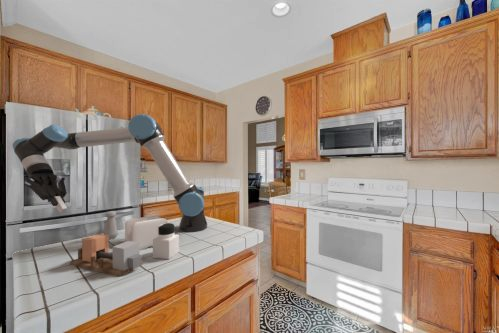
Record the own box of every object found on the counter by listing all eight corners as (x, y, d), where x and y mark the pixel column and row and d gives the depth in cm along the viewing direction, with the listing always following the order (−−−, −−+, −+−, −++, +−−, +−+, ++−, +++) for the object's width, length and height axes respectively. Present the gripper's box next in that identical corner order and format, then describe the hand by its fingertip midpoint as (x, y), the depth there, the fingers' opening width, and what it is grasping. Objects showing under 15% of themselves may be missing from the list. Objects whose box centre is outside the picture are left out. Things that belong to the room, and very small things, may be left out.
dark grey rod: (81, 254, 78) (81, 249, 78) (86, 252, 80) (86, 247, 80) (118, 262, 72) (118, 256, 72) (123, 259, 74) (123, 254, 74)
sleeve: (82, 260, 75) (82, 238, 75) (99, 253, 81) (99, 233, 81) (91, 262, 73) (91, 240, 73) (108, 255, 79) (108, 235, 79)
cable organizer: (130, 252, 85) (130, 224, 85) (124, 245, 93) (124, 219, 93) (167, 243, 95) (167, 218, 95) (160, 237, 103) (159, 214, 103)
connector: (112, 268, 70) (112, 246, 70) (128, 260, 76) (128, 240, 76) (129, 271, 67) (129, 249, 67) (144, 263, 73) (144, 243, 73)
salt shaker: (100, 239, 101) (100, 212, 101) (112, 235, 106) (112, 210, 106) (109, 241, 99) (109, 213, 99) (120, 237, 104) (120, 210, 104)
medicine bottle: (179, 252, 86) (179, 222, 86) (169, 259, 79) (168, 227, 79) (164, 250, 87) (163, 221, 87) (152, 257, 80) (152, 226, 80)
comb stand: (70, 264, 75) (70, 251, 75) (96, 254, 83) (96, 243, 83) (119, 276, 67) (119, 262, 67) (142, 264, 75) (142, 251, 75)
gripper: (53, 173, 96) (77, 213, 90) (13, 175, 84) (38, 220, 78) (60, 162, 94) (85, 201, 89) (20, 161, 82) (47, 207, 76)
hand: (63, 210), depth 83 cm, fingers closed
